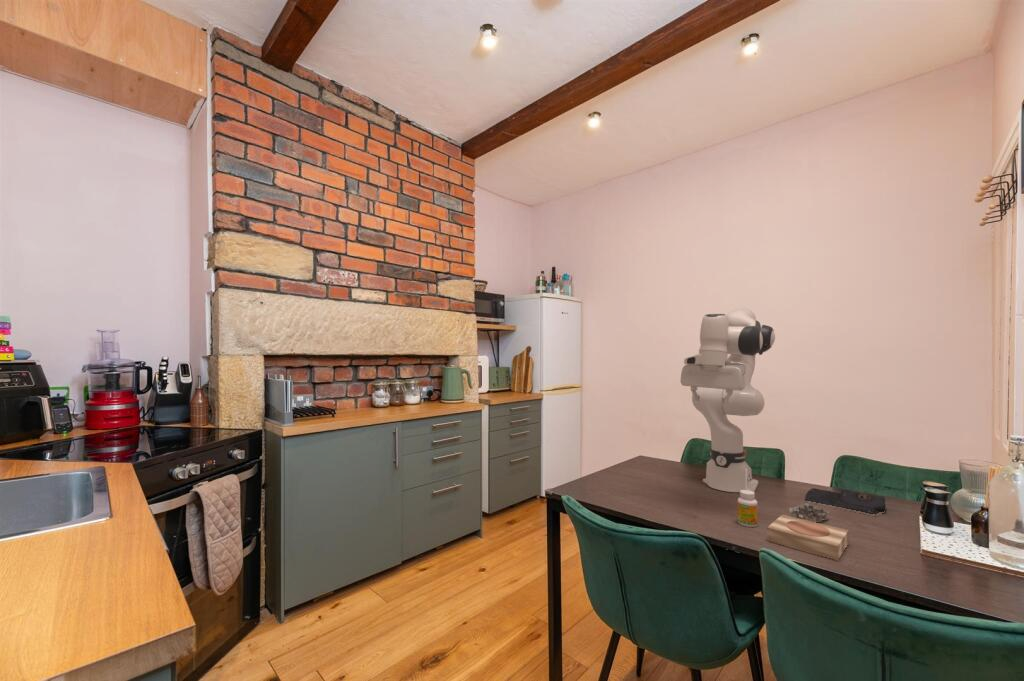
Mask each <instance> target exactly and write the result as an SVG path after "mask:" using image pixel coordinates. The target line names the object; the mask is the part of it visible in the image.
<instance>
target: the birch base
mask: <svg viewBox="0 0 1024 681" xmlns="http://www.w3.org/2000/svg"><path fill="white" fill-rule="evenodd" d="M766 532H767V533H766V535H767V536H766V539H767V540H768V541H767V540H766V541H767V542H769V541H771V542H770V543H773V542H774V543H773V544H776V543H777V544H776V545H780V544H781V545H780V546H783V545H784V546H785V547H788V548H791V549H794V550H799V551H801V552H805V553H809V554H811V555H816V556H818V557H819V556H820V557H822V556H823V558H825V557H827V558H826V559H829V558H831V559H830V560H832V559H835V560H834V561H836V560H838V559H839V558H840V559H841V557H842V556H841V554H842V553H843V554H844V552H845V551H846V549H847V548H848V546H849V544H850V539H849V538H850V536H849V529H846V528H845V529H844V528H841V527H837V526H836V527H835V526H832V525H828V524H823V523H816V522H812V521H807V520H803V519H799V518H795V517H791V515H786V514H781V515H779V517H777V518H776V519H775V520H774V521H773V522H771V524H769V525H768V526H767V527H766ZM848 543H849V544H848ZM847 545H848V546H847ZM846 547H847V548H846ZM845 548H846V549H845ZM844 550H845V551H844ZM843 551H844V552H843ZM843 554H842V555H843ZM840 556H841V557H840ZM840 559H839V560H840ZM839 560H838V561H839Z"/></svg>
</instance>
